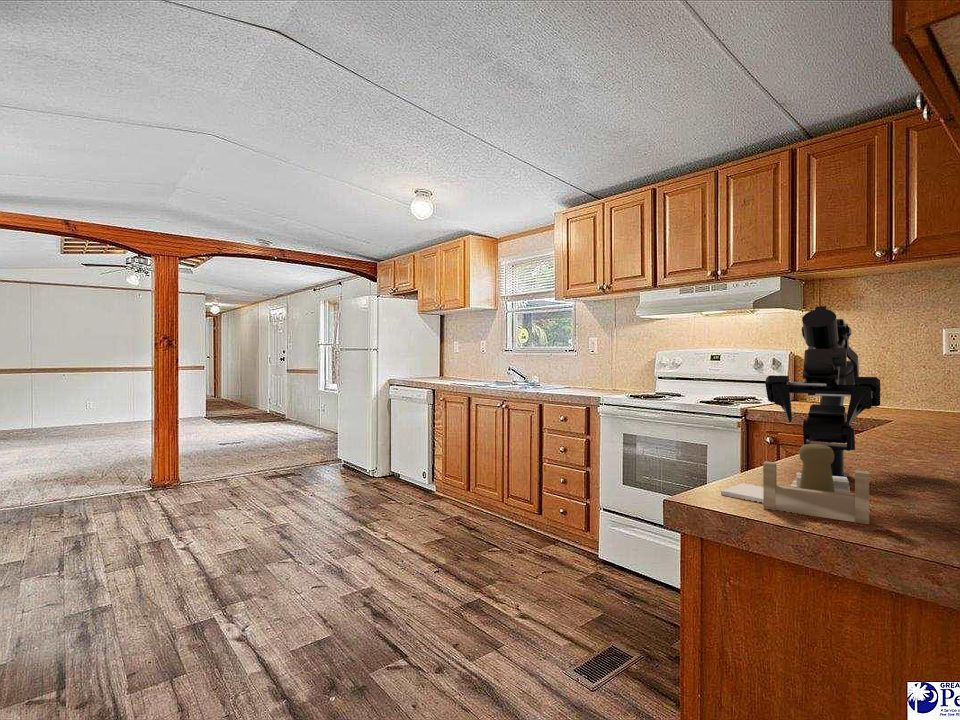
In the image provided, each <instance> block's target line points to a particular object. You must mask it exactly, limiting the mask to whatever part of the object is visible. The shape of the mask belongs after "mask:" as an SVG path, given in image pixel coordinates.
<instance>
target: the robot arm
mask: <svg viewBox="0 0 960 720" xmlns="http://www.w3.org/2000/svg"><path fill="white" fill-rule="evenodd" d="M801 319H802V320H801V322H802V327H801V334H802V335H801V336H802V338H803V339H804V341H805V342H804V343H805V344H806V346H807V349H805V350H804V354H803V355H804V356H803V366H802V367H803V368H802V379H803V380H804V381H790V379H789V378H790V377H789V375H768V376H767V377H766V378H765V382H764V386H765V390H766V396H767V401H768V402H770V403H773V404H775V405H776V406H780V407H781V409H783V412H784V413H785V416H786V419H787V421H788V423H790V424H791V423H792V420H793V414H792V413H793V410H792V401H791V396H792V395H791V394H807V396H819V397H821V398H820V402H819V404H815V403H814V404H811V405H810V406H809V410H808V414H807V416H806V419H803V422H802V435H803V445H806V444H821V445H826V446H829V447H830V448H832V450H833V452H834V461H833V462H832V464H831V472H832V476H839V477H847V478H848V477H849V476H851V473H850V472H845V461H844V460H845V458H844V457H845V455H844V453H845V452H844V451H847V452H851V451H855V450H856V436H855V435H856V433H855V429H854V427H852V423H853V422H854V421H855V420H856V418H857V417H858V416H859V415H860V414H861V413H863V411H865V410H870V409H872V407H873V408H874V407H876V408H877V407H879V406H880V405H881V379H879V377H877V376H860V364H859V363H860V362H859V356H858V354H857V352H855V351H854V350H853V349H852V348H851V347H850V345H849V343H850V340H849V339H850V337H851V336H852V328H851V327H850V326H849V323H845V320H844V318H837V315H836V313H835V311H832V310H831V309H827V306H826V305H823V306H822V305H819V306H815V307H814V309H813V310H810V311H808V312H806V313H805V314H804V315H803V316H802V317H801ZM846 397H848V398H849V397H850V399H849V404H848V409H847V412H846V407H845V406H844V402H845V398H846Z"/></svg>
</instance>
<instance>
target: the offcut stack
mask: <svg viewBox="0 0 960 720" xmlns="http://www.w3.org/2000/svg"><path fill="white" fill-rule="evenodd" d="M801 473H802V472H796V475H795V476H796V477H795V479H796V480H793V481H792V482H791V484H790V486H789V487H793V488H799V487H800V480H801ZM832 478H833V484H834V491H835V493H843V494H850V493H851V492H850V491H851V489H850V488H851V487H850V481H849V479H848V477H839V476H832Z"/></svg>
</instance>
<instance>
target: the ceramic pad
mask: <svg viewBox="0 0 960 720" xmlns="http://www.w3.org/2000/svg"><path fill="white" fill-rule="evenodd" d="M720 495H721V496H725V497H731V498H736V499H739V498H740V500H744V499H745V501H749V500H751V501H750V502H754V501H757V502H756V503H759V502H762V503H761V504H763V486H760V485H755V484H754V485H753V484H748V483H738V484H735V485H732V486H730V487H727V488H723V489H722V490H720Z"/></svg>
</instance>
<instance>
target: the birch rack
mask: <svg viewBox="0 0 960 720" xmlns="http://www.w3.org/2000/svg"><path fill="white" fill-rule="evenodd" d="M762 467H763V468H762V475H763V478H762V479H763V481H762V482H763V483H762V484H763V485H762V487H763V503H762V505H763V508H764V510H768V509H772V510H771V511H776V510H779V511H778V512H783V511H786V512H785V513H790V512H792V514H797V513H798V514H797V515H803V514H804V515H805V516H810V517H811V516H812V517H818V518H825V519H830V520H831V519H833V520H840V521H846V522H852V523H856V524H857V523H858V524H865V525H870V472H869V471H865V470H855V471H854V494H843V493H834V492H826V491H818V490H810V489H802V488H793V487H790V486H784V485H778V484H777V462H775V461H767V460H765V461H763V464H762ZM763 508H762V509H763Z"/></svg>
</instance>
